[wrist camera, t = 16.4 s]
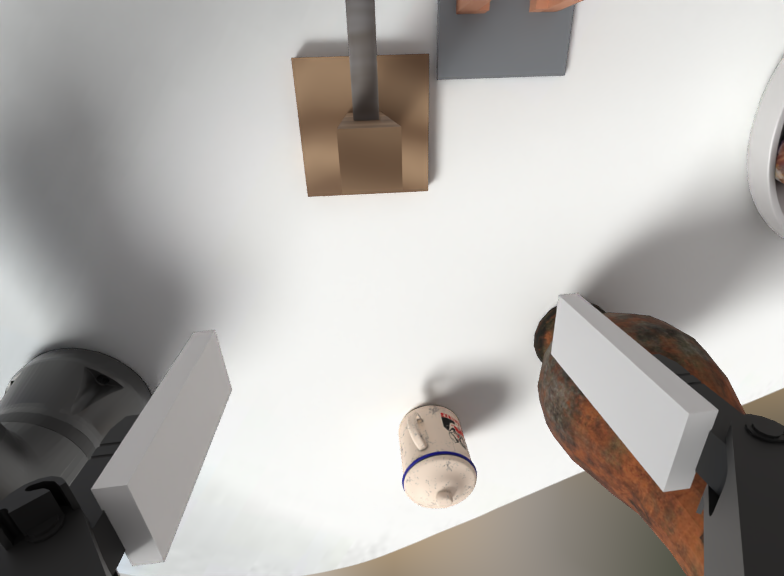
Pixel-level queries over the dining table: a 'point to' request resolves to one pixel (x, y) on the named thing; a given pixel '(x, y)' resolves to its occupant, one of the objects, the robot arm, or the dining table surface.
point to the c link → (476, 3)
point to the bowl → (769, 153)
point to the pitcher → (606, 450)
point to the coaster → (502, 41)
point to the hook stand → (363, 115)
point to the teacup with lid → (435, 458)
